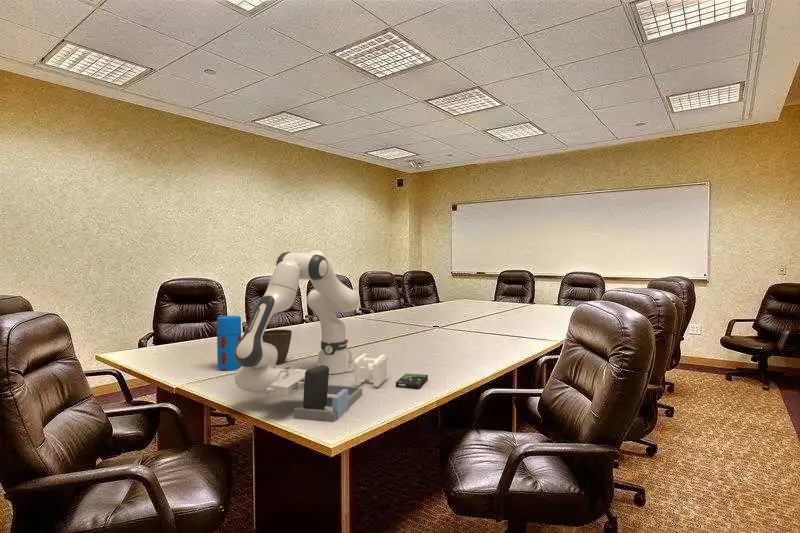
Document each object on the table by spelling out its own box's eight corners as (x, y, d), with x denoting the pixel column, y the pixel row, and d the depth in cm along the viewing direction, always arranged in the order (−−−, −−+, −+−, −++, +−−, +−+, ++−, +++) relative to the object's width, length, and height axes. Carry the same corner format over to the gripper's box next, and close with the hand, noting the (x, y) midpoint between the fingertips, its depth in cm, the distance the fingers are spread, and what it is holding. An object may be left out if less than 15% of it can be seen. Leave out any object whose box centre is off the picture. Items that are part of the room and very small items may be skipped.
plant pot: (259, 361, 224) (259, 330, 223) (288, 358, 231) (287, 328, 230) (265, 368, 210) (264, 335, 210) (295, 364, 217) (295, 332, 217)
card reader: (319, 404, 156) (321, 363, 155) (327, 407, 154) (330, 366, 153) (301, 412, 148) (303, 369, 147) (309, 415, 146) (312, 372, 145)
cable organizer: (365, 377, 193) (365, 351, 192) (388, 379, 190) (388, 353, 190) (353, 387, 178) (353, 359, 178) (378, 389, 176) (378, 361, 175)
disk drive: (419, 391, 175) (428, 380, 189) (419, 384, 175) (428, 374, 189) (395, 388, 178) (405, 378, 192) (395, 382, 178) (405, 372, 192)
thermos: (233, 371, 204) (233, 319, 203) (213, 370, 205) (212, 318, 205) (245, 365, 215) (245, 315, 214) (225, 365, 216) (225, 315, 216)
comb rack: (327, 391, 173) (327, 374, 172) (362, 394, 169) (362, 376, 169) (293, 417, 145) (293, 397, 145) (334, 421, 141) (334, 400, 141)
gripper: (262, 380, 144) (299, 383, 141) (291, 365, 164) (325, 367, 161) (262, 399, 144) (299, 402, 141) (291, 382, 164) (325, 384, 161)
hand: (313, 384), depth 151 cm, fingers closed on card reader
